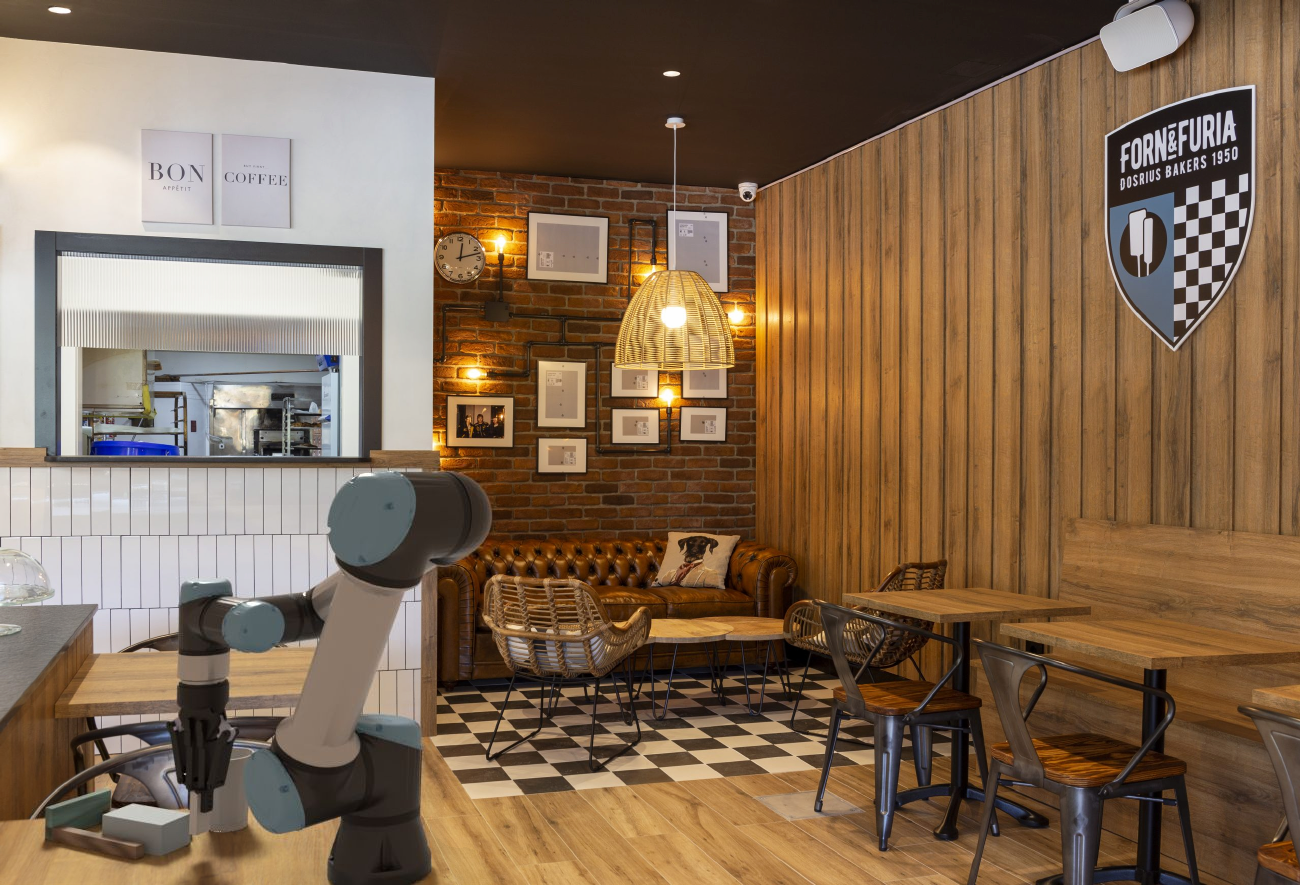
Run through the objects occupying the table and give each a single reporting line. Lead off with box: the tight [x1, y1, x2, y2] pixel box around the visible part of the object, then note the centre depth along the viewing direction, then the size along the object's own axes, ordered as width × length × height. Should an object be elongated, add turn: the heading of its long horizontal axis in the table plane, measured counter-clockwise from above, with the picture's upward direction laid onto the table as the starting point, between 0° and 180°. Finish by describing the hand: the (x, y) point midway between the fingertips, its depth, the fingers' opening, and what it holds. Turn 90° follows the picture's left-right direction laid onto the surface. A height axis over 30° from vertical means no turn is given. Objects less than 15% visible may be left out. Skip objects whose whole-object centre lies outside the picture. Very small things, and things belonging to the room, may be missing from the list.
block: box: [101, 803, 191, 857], centre depth 173 cm, size 12×6×5 cm, turn 69°
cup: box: [207, 746, 255, 833], centre depth 182 cm, size 8×8×12 cm
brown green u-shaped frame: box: [44, 788, 193, 861], centre depth 175 cm, size 20×11×5 cm, turn 66°
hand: (199, 831), depth 168 cm, fingers closed
